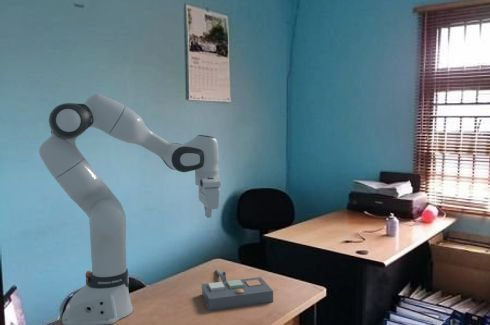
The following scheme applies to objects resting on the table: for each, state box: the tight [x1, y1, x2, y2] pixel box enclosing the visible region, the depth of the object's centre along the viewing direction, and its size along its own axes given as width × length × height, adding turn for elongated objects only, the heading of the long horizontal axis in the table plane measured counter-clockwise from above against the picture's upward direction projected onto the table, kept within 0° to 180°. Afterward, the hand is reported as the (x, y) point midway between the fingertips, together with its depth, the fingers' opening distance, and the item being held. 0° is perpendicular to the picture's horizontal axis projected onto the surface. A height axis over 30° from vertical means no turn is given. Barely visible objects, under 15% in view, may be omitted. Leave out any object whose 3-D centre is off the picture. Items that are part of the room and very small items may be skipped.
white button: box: [208, 281, 225, 292], centre depth 153 cm, size 5×5×3 cm
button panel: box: [201, 276, 274, 311], centre depth 153 cm, size 23×14×5 cm, turn 106°
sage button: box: [226, 279, 244, 289], centre depth 155 cm, size 5×5×3 cm
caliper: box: [215, 268, 227, 282], centre depth 172 cm, size 20×1×6 cm, turn 13°
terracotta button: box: [245, 280, 262, 287], centre depth 157 cm, size 5×5×3 cm
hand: (208, 216), depth 155 cm, fingers closed
